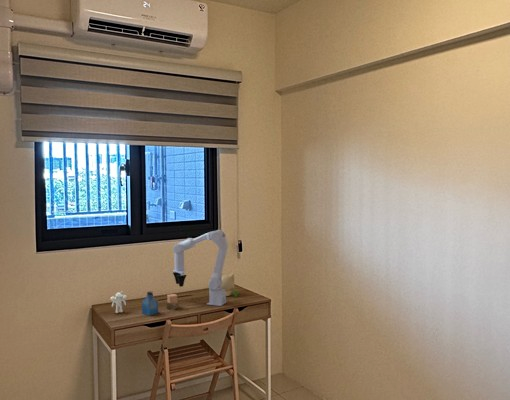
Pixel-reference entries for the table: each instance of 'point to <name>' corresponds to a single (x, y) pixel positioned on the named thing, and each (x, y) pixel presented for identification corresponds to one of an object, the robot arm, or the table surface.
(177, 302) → the slab upper
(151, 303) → the perfume bottle
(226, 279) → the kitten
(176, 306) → the slab lower
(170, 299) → the block
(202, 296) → the table surface
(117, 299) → the hat wearing toy figure
